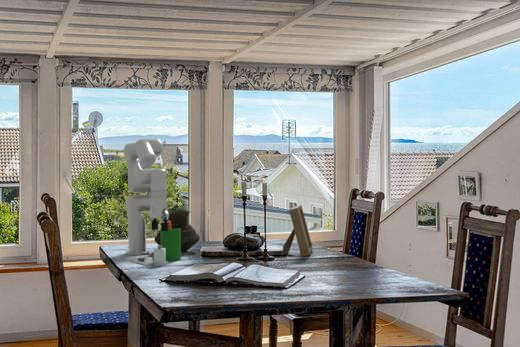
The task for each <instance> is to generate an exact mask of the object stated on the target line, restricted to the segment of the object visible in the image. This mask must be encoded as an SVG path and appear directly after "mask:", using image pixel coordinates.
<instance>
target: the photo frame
mask: <svg viewBox="0 0 520 347" xmlns="http://www.w3.org/2000/svg"><path fill="white" fill-rule="evenodd" d="M303 209H304V208H303V206H302V204H300V205H296V206H293V207H291V208H290V209H289V210H288V212H289V215H290V216H289V217H290V219H291V224H292V226H293V229H292V231H291V233H290V234H289V236H288V238H287V239H286V241H285V242H284V244H283V246H282V252H281V255H282V256H284V255H285V256H286V255H289V253H290V250H291V247H292V244H293V241H294V240H295V239H296V242H297V245H298V246H297V247H298V249H299V254H300V256H301V258H302V257H305V256H310V254H311V253H312V252H313V244H312V241H311V236H310V233H309V228H308V224H307V221H306V218H305V214H304V213H305V212H304V210H303Z"/></svg>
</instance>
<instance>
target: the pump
mask: <svg viewBox="0 0 520 347" xmlns="http://www.w3.org/2000/svg"><path fill="white" fill-rule="evenodd" d="M153 256H154V265H153V266H154V267H165V266H167V263H166V248H162V245H158V244H157V247H156V248H154V249H153Z"/></svg>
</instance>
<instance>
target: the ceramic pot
mask: <svg viewBox="0 0 520 347" xmlns="http://www.w3.org/2000/svg"><path fill="white" fill-rule="evenodd" d="M168 213H169V219H168V221H171V227H172V229H179V228H181V254H184V253H187V252H188V251H189V250H190V249H191V248H192V247H194V246H195V245H196V244H198V243H199V241H200V240H201V239H200V238H201V237H200V234H199V233H197V231H196V229H195V228H194V227H193V226H192V225H191V223H190V221H189V214H190V213H191V210H188V209H187V210H186V209H177V210H176V209H174V210H173V209H172V210H168ZM154 242H155V243H156V244H157V246H158V245H161V238H160V230H159V232H157V234H156V235H155V237H154Z"/></svg>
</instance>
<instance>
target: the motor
mask: <svg viewBox="0 0 520 347" xmlns="http://www.w3.org/2000/svg"><path fill="white" fill-rule="evenodd" d="M159 231H160V238H161V245H162V248H166V261H168V262H170V261H173V262H174V261H180V260H181V259H182V253H181V228H179V229H172V227H171V221H168V231H161V228H159Z"/></svg>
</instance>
